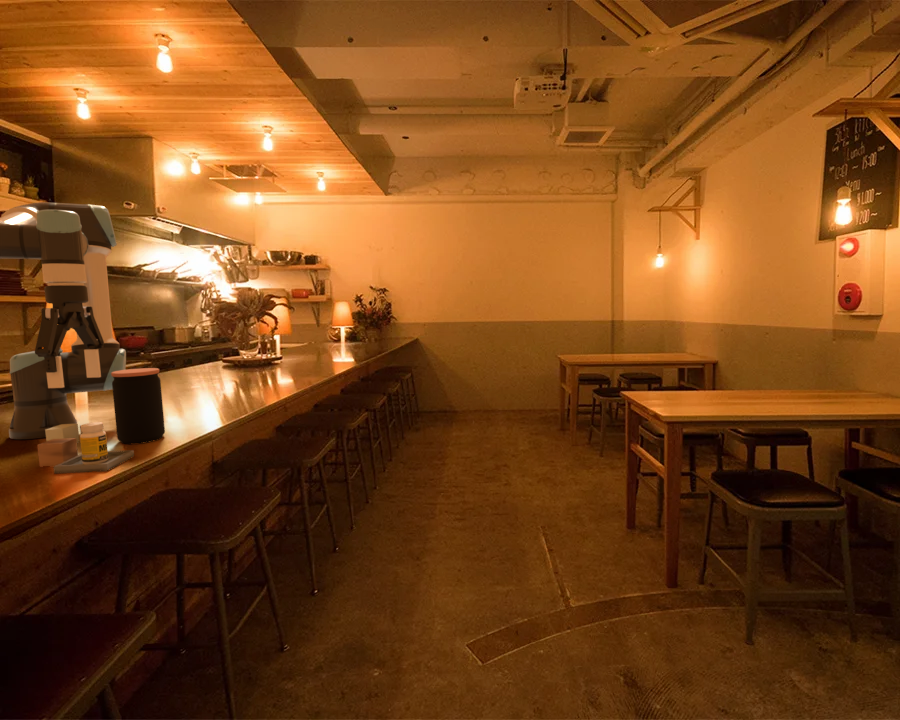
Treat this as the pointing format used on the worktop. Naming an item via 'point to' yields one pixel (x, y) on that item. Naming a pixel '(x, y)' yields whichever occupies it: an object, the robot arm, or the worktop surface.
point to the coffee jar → (138, 405)
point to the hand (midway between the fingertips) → (76, 382)
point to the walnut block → (57, 451)
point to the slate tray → (77, 465)
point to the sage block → (63, 432)
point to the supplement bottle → (93, 443)
